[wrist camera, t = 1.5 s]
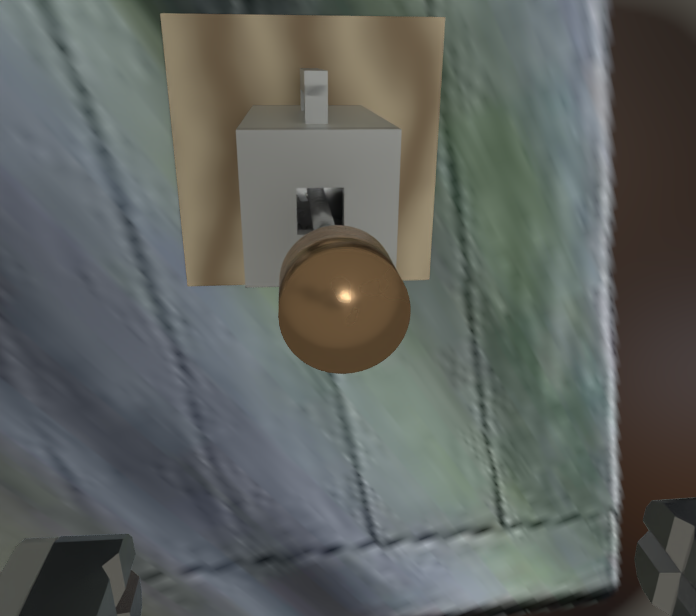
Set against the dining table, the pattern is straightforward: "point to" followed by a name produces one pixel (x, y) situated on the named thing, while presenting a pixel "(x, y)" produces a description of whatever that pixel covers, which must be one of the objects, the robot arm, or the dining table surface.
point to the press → (313, 173)
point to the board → (284, 89)
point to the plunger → (339, 291)
